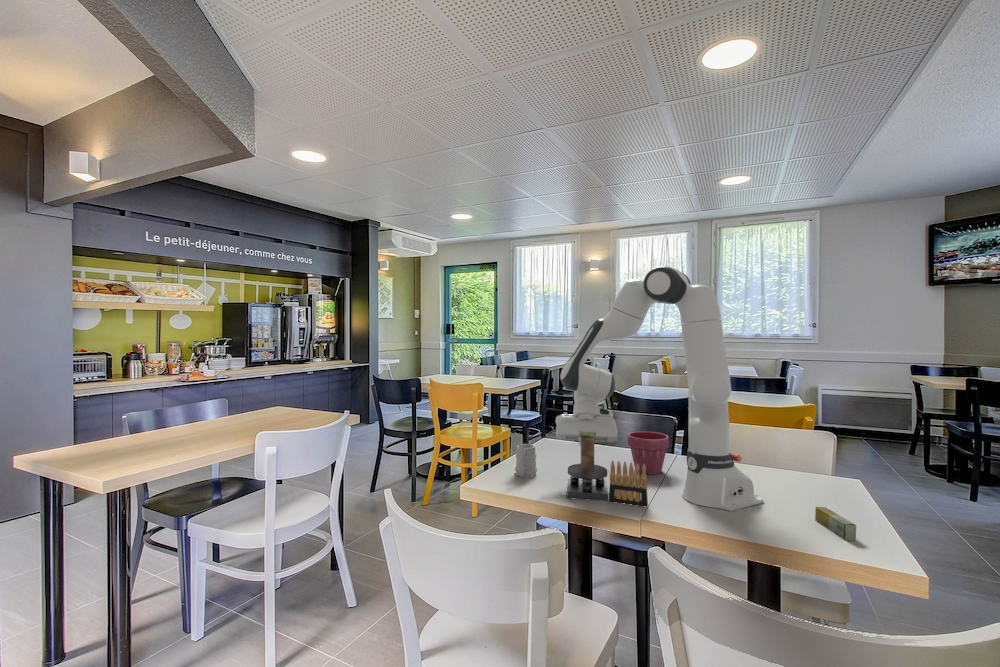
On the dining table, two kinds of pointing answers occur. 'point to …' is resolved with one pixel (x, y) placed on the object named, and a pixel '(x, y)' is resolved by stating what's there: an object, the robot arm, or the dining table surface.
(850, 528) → the medication box
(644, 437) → the plant pot
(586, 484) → the stand
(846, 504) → the dining table surface
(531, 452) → the mug
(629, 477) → the ammunition clip
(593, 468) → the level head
